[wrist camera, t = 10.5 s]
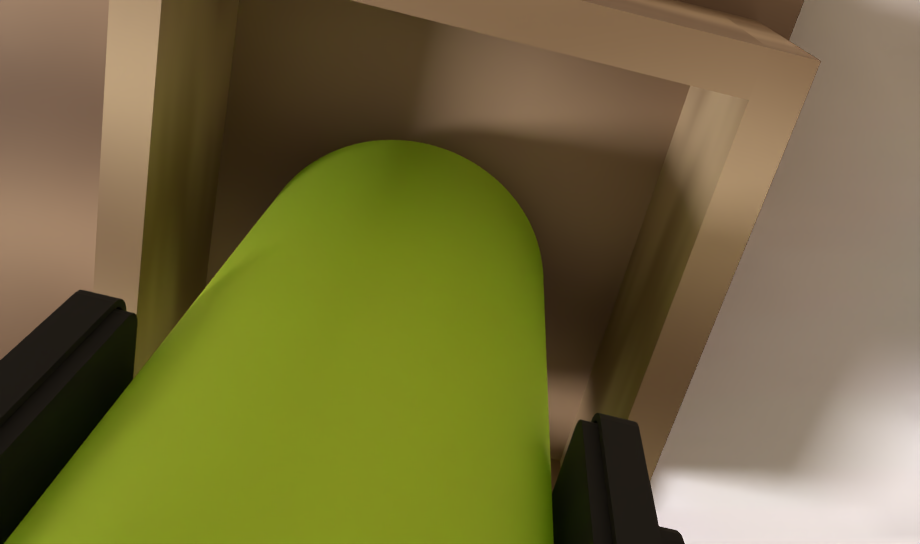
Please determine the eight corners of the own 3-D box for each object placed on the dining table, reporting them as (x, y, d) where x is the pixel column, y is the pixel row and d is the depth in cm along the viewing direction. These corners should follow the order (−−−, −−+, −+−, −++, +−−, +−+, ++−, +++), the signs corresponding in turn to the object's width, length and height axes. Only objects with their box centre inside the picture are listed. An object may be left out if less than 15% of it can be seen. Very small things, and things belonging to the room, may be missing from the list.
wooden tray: (593, 505, 23) (608, 668, 18) (-79, 345, 22) (-243, 470, 18) (799, -41, 17) (902, -11, 12) (-106, -273, 17) (-361, -333, 12)
